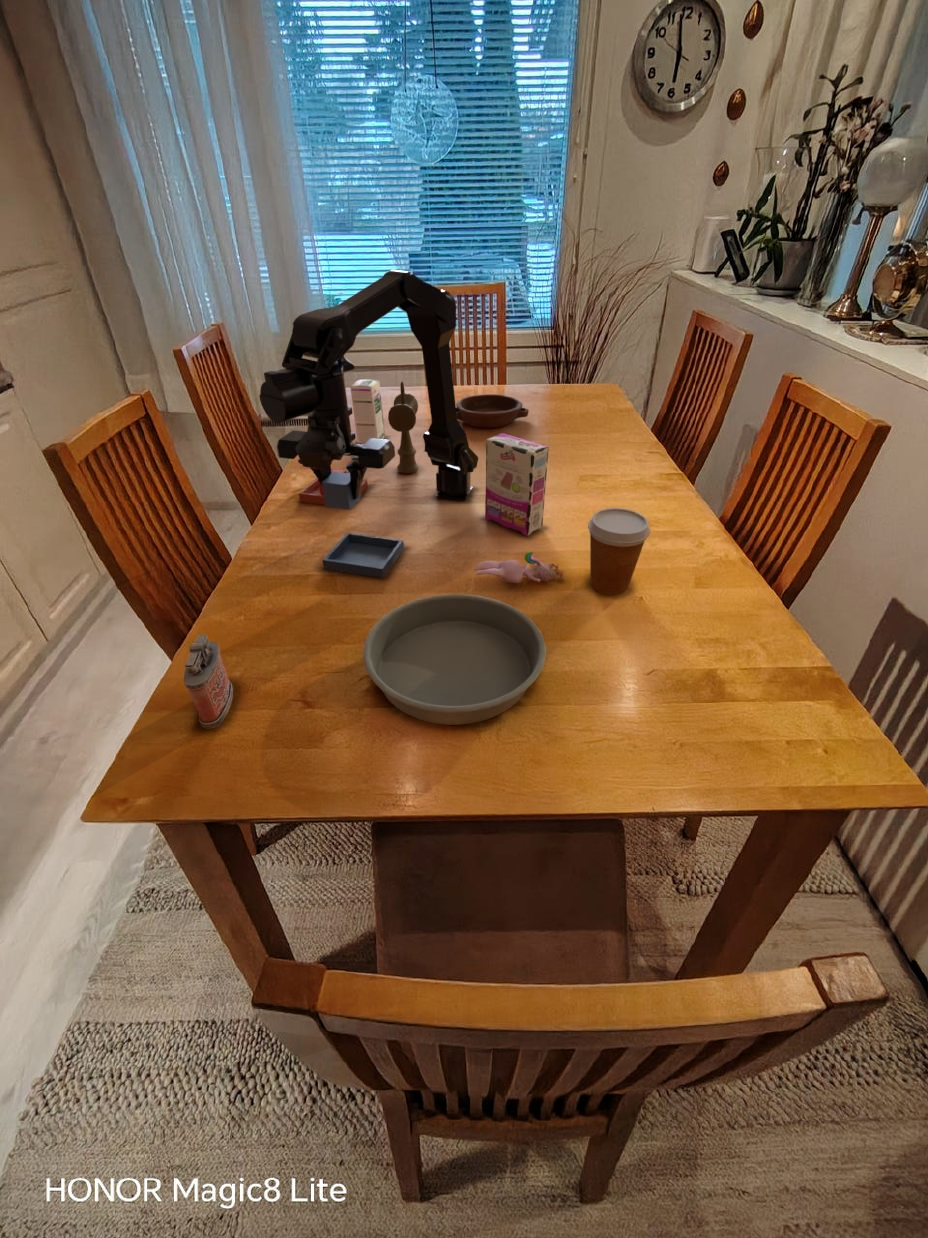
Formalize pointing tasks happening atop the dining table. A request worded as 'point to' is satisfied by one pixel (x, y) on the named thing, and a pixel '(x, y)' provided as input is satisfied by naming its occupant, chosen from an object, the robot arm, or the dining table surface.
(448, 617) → the cake pan
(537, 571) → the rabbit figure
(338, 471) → the red block
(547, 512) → the dining table surface
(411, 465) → the kendama
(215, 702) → the lighter
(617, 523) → the disposable coffee cup
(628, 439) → the dining table surface
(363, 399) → the syrup box
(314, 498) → the red tray
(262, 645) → the dining table surface
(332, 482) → the blue block
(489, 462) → the candy bar box
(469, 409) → the dish
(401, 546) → the blue tray
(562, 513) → the dining table surface
